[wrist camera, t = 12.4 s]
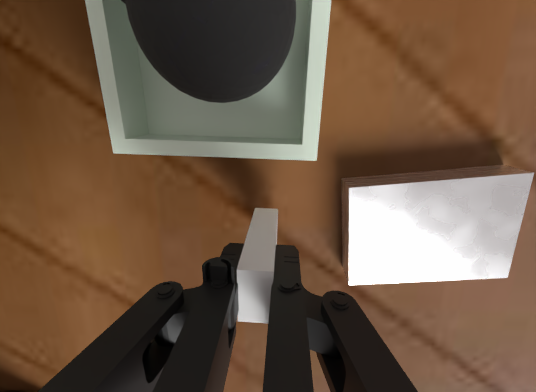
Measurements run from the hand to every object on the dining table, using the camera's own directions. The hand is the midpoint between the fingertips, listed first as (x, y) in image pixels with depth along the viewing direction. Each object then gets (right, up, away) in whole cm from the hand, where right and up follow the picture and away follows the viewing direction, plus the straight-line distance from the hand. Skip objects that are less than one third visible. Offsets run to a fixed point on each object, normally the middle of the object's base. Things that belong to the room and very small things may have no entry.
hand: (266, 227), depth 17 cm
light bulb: (-4, +11, -4) cm, 13 cm away
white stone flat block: (+10, +1, +1) cm, 10 cm away
